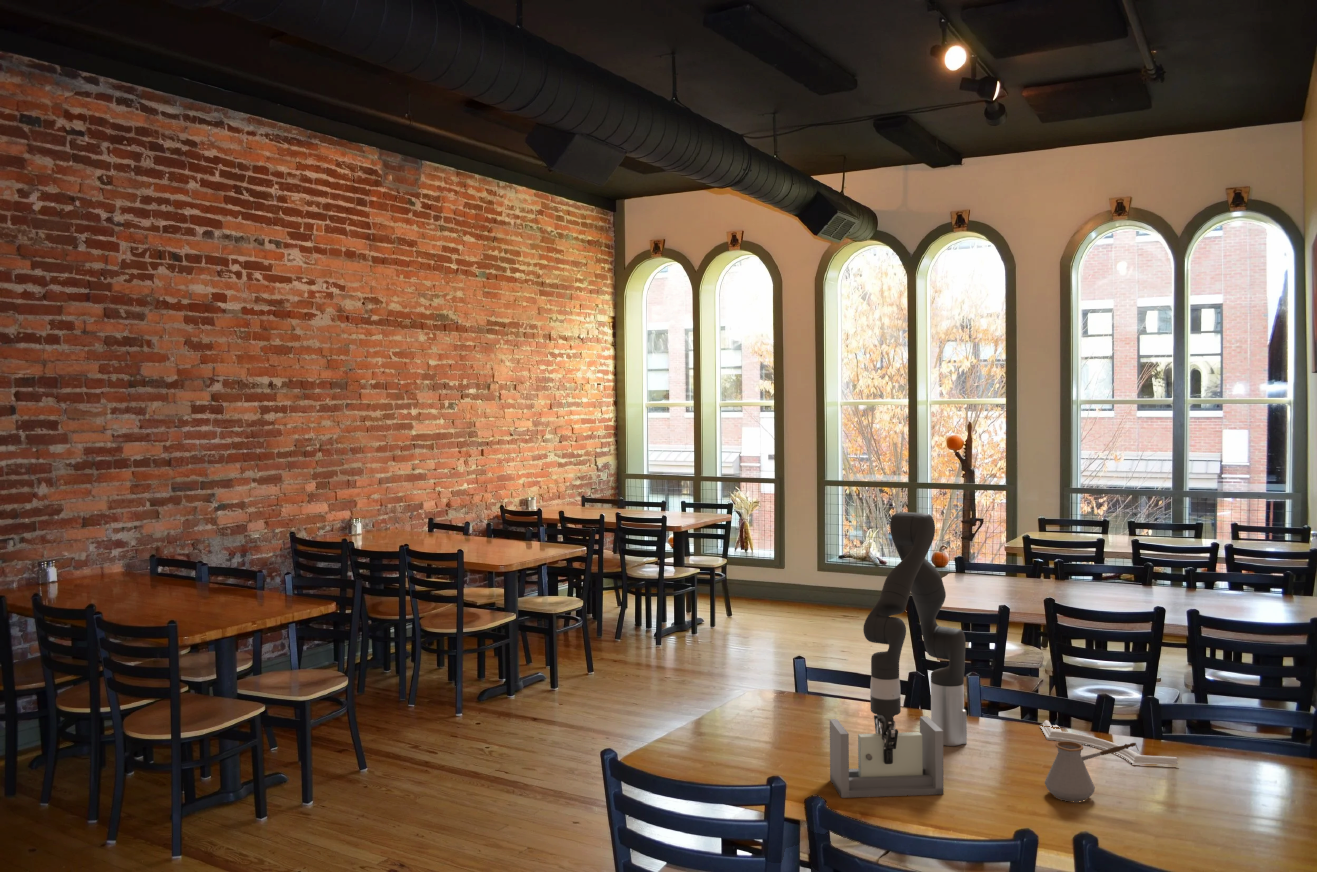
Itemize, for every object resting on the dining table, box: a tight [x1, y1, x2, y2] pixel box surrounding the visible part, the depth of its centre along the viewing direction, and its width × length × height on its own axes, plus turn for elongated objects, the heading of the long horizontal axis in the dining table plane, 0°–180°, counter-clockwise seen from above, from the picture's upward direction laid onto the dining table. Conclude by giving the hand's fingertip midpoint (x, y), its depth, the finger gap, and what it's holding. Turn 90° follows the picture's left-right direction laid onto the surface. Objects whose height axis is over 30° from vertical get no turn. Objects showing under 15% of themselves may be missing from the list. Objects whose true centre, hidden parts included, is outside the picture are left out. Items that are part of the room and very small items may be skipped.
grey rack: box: [829, 716, 945, 799], centre depth 250 cm, size 26×12×16 cm, turn 93°
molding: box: [1039, 719, 1179, 765], centre depth 277 cm, size 42×12×3 cm, turn 33°
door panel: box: [857, 731, 923, 777], centre depth 249 cm, size 16×3×12 cm, turn 94°
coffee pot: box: [1044, 741, 1140, 803], centre depth 240 cm, size 21×12×15 cm, turn 70°
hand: (886, 760), depth 249 cm, fingers open, 3 cm apart
